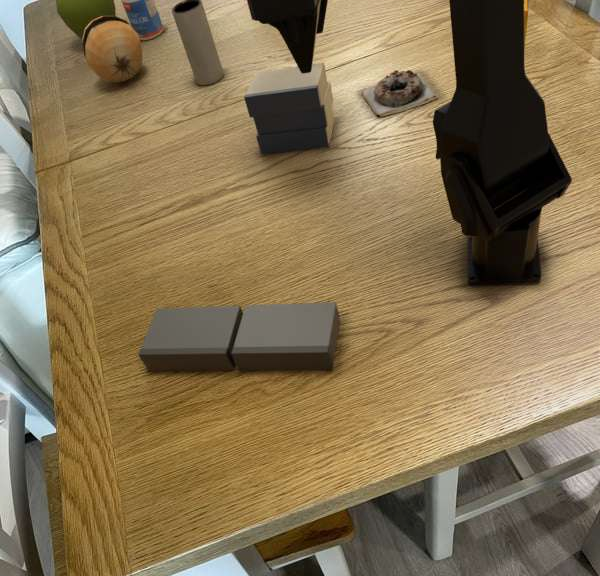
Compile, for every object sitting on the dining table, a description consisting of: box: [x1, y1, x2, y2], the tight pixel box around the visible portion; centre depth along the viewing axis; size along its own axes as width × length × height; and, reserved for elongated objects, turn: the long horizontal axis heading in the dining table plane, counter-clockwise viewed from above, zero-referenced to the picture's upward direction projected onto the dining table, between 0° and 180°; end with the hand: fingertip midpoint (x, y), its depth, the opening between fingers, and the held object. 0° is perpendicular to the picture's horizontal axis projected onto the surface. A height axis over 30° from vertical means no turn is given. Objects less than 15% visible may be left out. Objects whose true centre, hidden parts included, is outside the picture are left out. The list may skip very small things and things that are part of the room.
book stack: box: [252, 81, 335, 155], centre depth 75 cm, size 6×9×5 cm
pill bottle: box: [120, 0, 164, 41], centre depth 104 cm, size 6×5×10 cm
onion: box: [81, 14, 144, 86], centre depth 96 cm, size 9×9×15 cm
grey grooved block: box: [137, 301, 341, 372], centre depth 56 cm, size 6×18×3 cm, turn 81°
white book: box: [243, 62, 328, 119], centre depth 72 cm, size 6×9×3 cm, turn 81°
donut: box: [359, 69, 439, 118], centre depth 77 cm, size 8×8×2 cm
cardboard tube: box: [171, 0, 224, 86], centre depth 88 cm, size 4×4×10 cm
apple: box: [55, 0, 117, 40], centre depth 108 cm, size 11×10×10 cm
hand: (312, 51), depth 65 cm, fingers open, 9 cm apart
